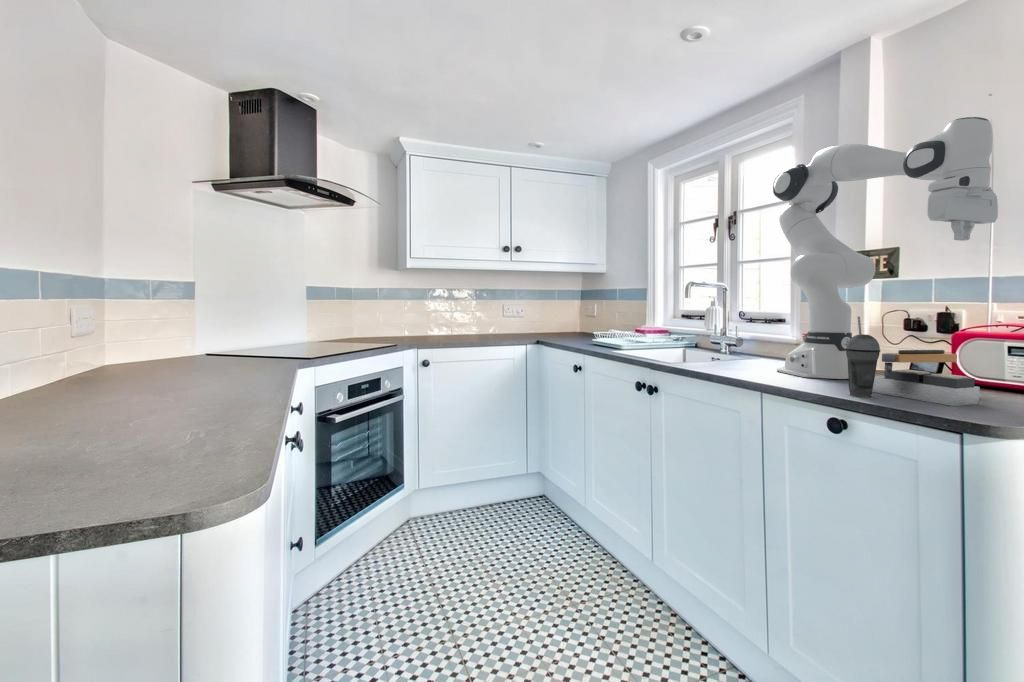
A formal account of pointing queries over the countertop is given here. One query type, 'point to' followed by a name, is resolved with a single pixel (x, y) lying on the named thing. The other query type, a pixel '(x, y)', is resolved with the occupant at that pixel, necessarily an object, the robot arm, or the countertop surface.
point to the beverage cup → (862, 363)
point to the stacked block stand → (927, 386)
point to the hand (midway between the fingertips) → (961, 240)
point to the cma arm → (919, 356)
